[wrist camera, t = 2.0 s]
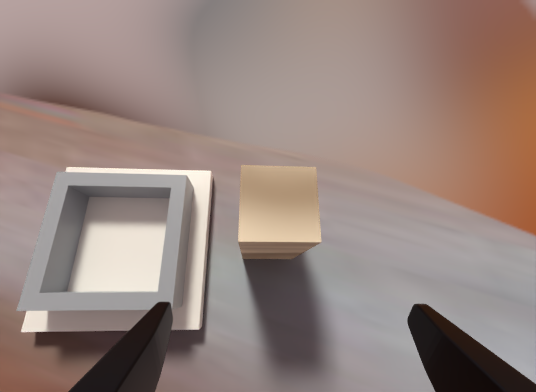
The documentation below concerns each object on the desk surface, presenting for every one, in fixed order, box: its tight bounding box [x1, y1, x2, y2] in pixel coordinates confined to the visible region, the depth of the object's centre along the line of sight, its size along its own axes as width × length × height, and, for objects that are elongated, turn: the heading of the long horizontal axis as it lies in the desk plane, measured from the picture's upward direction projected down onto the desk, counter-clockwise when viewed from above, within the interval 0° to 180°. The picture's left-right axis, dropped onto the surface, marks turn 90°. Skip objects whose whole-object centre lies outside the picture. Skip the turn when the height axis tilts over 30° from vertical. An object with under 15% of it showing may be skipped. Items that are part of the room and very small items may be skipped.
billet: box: [238, 165, 321, 259], centre depth 17 cm, size 4×4×9 cm
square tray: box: [17, 167, 213, 332], centre depth 19 cm, size 12×12×4 cm
